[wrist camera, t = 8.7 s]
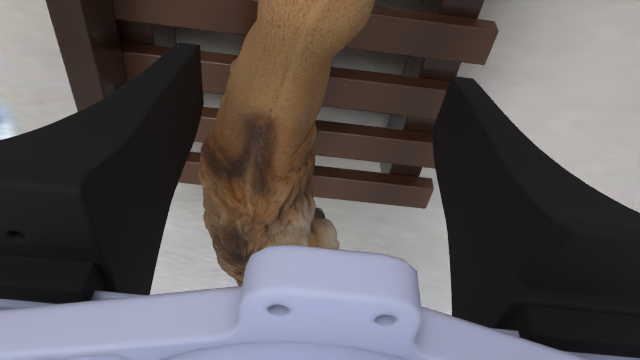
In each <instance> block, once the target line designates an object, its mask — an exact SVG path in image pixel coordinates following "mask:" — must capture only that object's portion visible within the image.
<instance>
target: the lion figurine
mask: <svg viewBox="0 0 640 360" xmlns="http://www.w3.org/2000/svg"><path fill="white" fill-rule="evenodd" d="M375 1H376V0H258V13H257V20H256V22H255V23H254V24H253V26H252V27H251V29H250V31H249V32H248V34H247V36H246V38H245V40H244V42H243V45H242V49H241V51H240V53H239V56H238V58H237V59H235V60H234V61H233V62H232V64H231V66H230V72H231V73H230V76H229V79H228V82H227V86H226V91H225V94H224V96H223V97H222V99H221V103H220V109H219V111H218V112H217V116H216V120H215V125H214V127H213V129H212V130H211V132H210V133H209V134H208V136H207V137H206V139H205V141H204V143H203V145H202V147H201V157H200V165H201V167H200V168H199V170H198V176H199V179H200V182H201V184H202V186H203V197H204V200H203V206H204V209H205V212H204V215H203V217H204V222H205V226H206V228H207V229H208V231H209V233H210V236H211V238H212V240H213V247H214V250H215V251H216V255H217V260H218V263H219V265H220V267H221V268H222V270H224V271H225V272H226V273H227V274H228V275H230V276H231V277H233V278H234V279H235V280H236V281H237V283H238V285H239V286H242V285H243V279H244V273H245V268H246V265H247V263H248V261H249V259H250V257H251V255H252V254H254V253H256V252H258V251H260V250H262V249H264V248H267V247H269V246H275V245H299V246H309V247H319V248H328V249H339V242H338V241H337V232H336V229H335V227H334V225H333V224H332V223H331V221H330V220H328V219H325V215H324V212H323V211H322V209H320V208H317V207H316V204H315V201H314V198H313V197H314V188H313V186H312V181H313V175H314V168H315V155H314V149H313V143H314V140H315V137H316V133H317V130H316V125H315V122H316V117H317V115H318V112H319V110H320V108H321V105H322V103H323V99H324V96H325V92H326V88H327V84H328V79H329V74H330V69H331V64H332V59H333V58H334V57H335V56H336V55H337V53H339V52H340V51H341V50H342V49H343V48H344V47H345V46H346V45H347V44H348V43H349V42H350V41H351V40H352V39H353V38H354V37H355V36H356V35H357V34H358V33H359V32H360V31H361V30H362V29H363V27H364V26H365V25H366V23H367V21H368V19H369V17H370V14H371V12H372V9H373V7H374V4H375Z"/></svg>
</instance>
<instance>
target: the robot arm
mask: <svg viewBox="0 0 640 360" xmlns="http://www.w3.org/2000/svg"><path fill="white" fill-rule="evenodd" d="M203 105H204V101H203V85H202V70H201V54H200V45H194V44H186V43H177V44H176V45H174V46H173V47H172V48H171V49H169V50H168V51H167V52H166V53H165V54H163V55H162V56H161V57H160V58H159V59H157V60H156V61H155V62H154V63H153V64H151V65H150V66H149V67H148V68H146V69H145V70H144V71H143V72H141V73H140V74H139V75H137V76H136V77H135V78H133V79H132V80H131V81H129V82H128V83H126V84H125V85H123V86H122V87H121V88H119V89H118V90H116V91H115V92H113V93H112V94H110V95H109V96H107V97H105V98H104V99H102V100H100V101H98V102H96V103H95V104H93V105H91V106H89V107H87V108H85V109H83V110H81V111H79V112H77V113H75V114H73V115H70V116H68V117H66V118H64V119H61V120H59V121H57V122H55V123H52V124H50V125H47V126H44V127H41V128H39V129H36V130H33V131H30V132H27V133H24V134H21V135H18V136H14V137H11V138H7V139H4V140H0V360H640V213H639V212H637V211H635V210H632V209H630V208H628V207H626V206H624V205H622V204H620V203H618V202H617V201H615V200H613V199H611V198H610V197H608V196H606V195H604V194H602V193H601V192H599V191H597V190H596V189H594V188H592V187H591V186H589V185H588V184H586V183H585V182H583V181H582V180H580V179H579V178H577V177H576V176H574V175H573V174H571V173H570V172H568V171H567V170H566V169H564V168H563V167H561V166H560V165H559V164H558V163H556V162H555V161H554V160H553V159H551V158H550V157H549V156H548V155H546V154H545V153H544V152H543V151H542V150H540V149H539V148H538V147H537V146H536V145H535V144H534V143H533V142H532V141H531V140H529V139H528V138H527V137H526V136H525V135H524V134H523V133H522V132H521V131H520V130H519V129H518V128H517V127H516V126H515V125H514V124H513V123H512V122H511V120H510V119H509V118H508V117H507V116H506V115H505V114H504V113H503V112H502V111H501V110H500V108H499V107H498V106H497V105H496V104H495V103H494V102H493V100H492V99H491V98H490V97H489V96H488V95H487V94H486V92H485V91H484V90H483V89H482V88H481V87H480V86H479V85H478V83H477V82H476V81H475V80H474V79H472V78H463V77H455V76H452V77H451V80H450V83H449V86H448V88H447V91H446V94H445V97H444V100H443V102H442V105H441V108H440V111H439V113H438V116H437V119H436V122H435V124H434V127H433V130H432V136H433V156H434V164H435V169H436V174H437V179H438V184H439V189H440V194H441V199H442V204H443V209H444V213H445V218H446V225H447V231H448V243H449V255H450V272H451V293H452V316H450V315H447V314H444V313H441V312H438V311H434V310H431V309H428V308H425V307H422V306H421V303H420V294H419V285H418V276H417V271H416V270H415V269H414V268H413V267H412V266H411V265H410V264H408V263H407V262H406V261H405V260H403V259H400V258H396V257H393V256H389V255H385V254H377V253H368V252H358V251H348V250H338V249H328V248H319V247H309V246H299V245H275V246H269V247H267V248H264V249H262V250H260V251H258V252H256V253H254V254H252V255H251V257H250V259H249V261H248V263H247V265H246V268H245V273H244V279H243V285H242V286H236V287H226V288H216V289H206V290H196V291H186V292H175V293H165V294H155V295H150V290H151V285H152V281H153V276H154V271H155V267H156V262H157V257H158V253H159V249H160V245H161V240H162V236H163V232H164V228H165V224H166V220H167V216H168V212H169V208H170V204H171V201H172V198H173V195H174V192H175V189H176V186H177V184H178V181H179V179H180V176H181V174H182V171H183V168H184V166H185V163H186V161H187V158H188V156H189V153H190V150H191V148H192V145H193V142H194V140H195V137H196V134H197V131H198V127H199V123H200V119H201V114H202V109H203Z"/></svg>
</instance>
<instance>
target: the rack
mask: <svg viewBox="0 0 640 360" xmlns="http://www.w3.org/2000/svg"><path fill="white" fill-rule="evenodd" d="M483 2H484V0H423V3H422V6H421V10H420V12H419V11H412V10H404V9H396V8H388V7H381V6H374V7H373V9H372V12H371V14H370V17H369V19H368V21H367V23H366V25H365V26H364V27H363V29H362V30H361V31H360V32H359V33H358V34H357V35H356V36H355V37H354V38H353V39H352V40H351V41H350V42H349V43H348V44H347V45H346V46H345V47H344V48H351V49H359V50H367V51H375V52H383V53H391V54H399V55H407V56H408V57H407V60H406V64H405V67H404V71H403V75H394V74H386V73H377V72H369V71H361V70H353V69H345V68H336V67H331V69H330V74H329V79H328V84H327V88H326V92H325V96H324V99H323V103H322V105H321V106H328V107H337V108H345V109H354V110H362V111H371V112H379V113H388V114H391V118H390V121H389V125H388V128H382V127H373V126H364V125H356V124H347V123H338V122H330V121H321V120H316V122H315V125H316V130H317V133H316V137H315V140H314V143H313V149H314V155H320V156H329V157H338V158H347V159H356V160H365V161H374V162H380V167H381V173H378V172H369V171H360V170H351V169H342V168H333V167H323V166H315V168H314V175H313V181H312V186H313V188H314V197H321V198H331V199H340V200H349V201H359V202H368V203H378V204H387V205H397V206H406V207H415V208H426V207H427V204H428V202H429V199H430V197H431V194H432V192H433V190H434V187H433V181H432V179H431V178H424V177H419V175H420V172H421V169H422V167H428V168H435V164H434V156H433V136H432V130H433V127H434V124H435V122H436V119H437V116H438V113H439V111H440V108H441V105H442V102H443V100H444V97H445V94H446V91H447V88H448V86H449V83H450V80H451V77H452V76H455V77H456V75H457V72H458V70H459V67H460V64H461V62H464V63H472V64H480V65H484V64H485V63H486V60H487V58H488V55H489V53H490V51H491V48H492V46H493V43H494V41H495V38H496V36H497V34H498V28H497V26H496V23H495V22H494V21H489V20H481V19H477V18H478V16H479V13H480V10H481V8H482V5H483ZM46 3H47V7H48V10H49V14H50V17H51V20H52V24H53V27H54V31H55V34H56V38H57V41H58V45H59V48H60V52H61V55H62V58H63V62H64V65H65V69H66V72H67V76H68V79H69V83H70V86H71V90H72V93H73V97H74V100H75V103H76V107H77V110H78V112H79V111H81V110H83V109H85V108H87V107H89V106H91V105H93V104H95V103H96V102H98V101H100V100H102V99H104V98H105V97H107V96H109V95H110V94H112V93H113V92H115V91H116V90H118V89H119V88H121V87H122V86H123V85H125V84H126V83H128V82H129V81H131V80H132V79H133V78H135V77H136V76H137V75H139V74H140V73H141V72H143V71H144V70H145V69H146V68H148V67H149V66H150V65H151V64H153V63H154V62H155V61H156V60H157V59H159V58H160V57H161V56H162V55H163V54H165V53H166V52H167V51H168V50H169V49H171V48H172V47H173V46H174V45H176V42H175V32H174V27H182V28H190V29H198V30H206V31H214V32H222V33H230V34H238V35H246V36H247V34H248V32H249V31H250V29H251V27H252V26H253V24H254V23H255V22H256V20H257V13H258V0H46ZM200 54H201V70H202V85H203V92H208V93H217V94H225V91H226V86H227V82H228V79H229V76H230V73H231V72H230V66H231V64H232V62H233V61H234V60H235V59H237V58H238V55H229V54H221V53H213V52H205V51H200ZM218 111H219V109H217V108H208V107H203V109H202V114H201V119H200V123H199V127H198V131H197V134H196V137H195V140H194V142H203V143H204V141H205V139H206V137H207V136H208V134H209V133H210V132H211V130H212V129H213V127H214V125H215V120H216V116H217V112H218ZM200 157H201V153H196V152H190V153H189V156H188V158H187V161H186V163H185V166H184V168H183V171H182V174H181V176H180V179H179V181H178V182H180V183H190V184H199V185H202V184H201V182H200V179H199V176H198V170H199V168H200V167H201V165H200Z"/></svg>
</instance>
